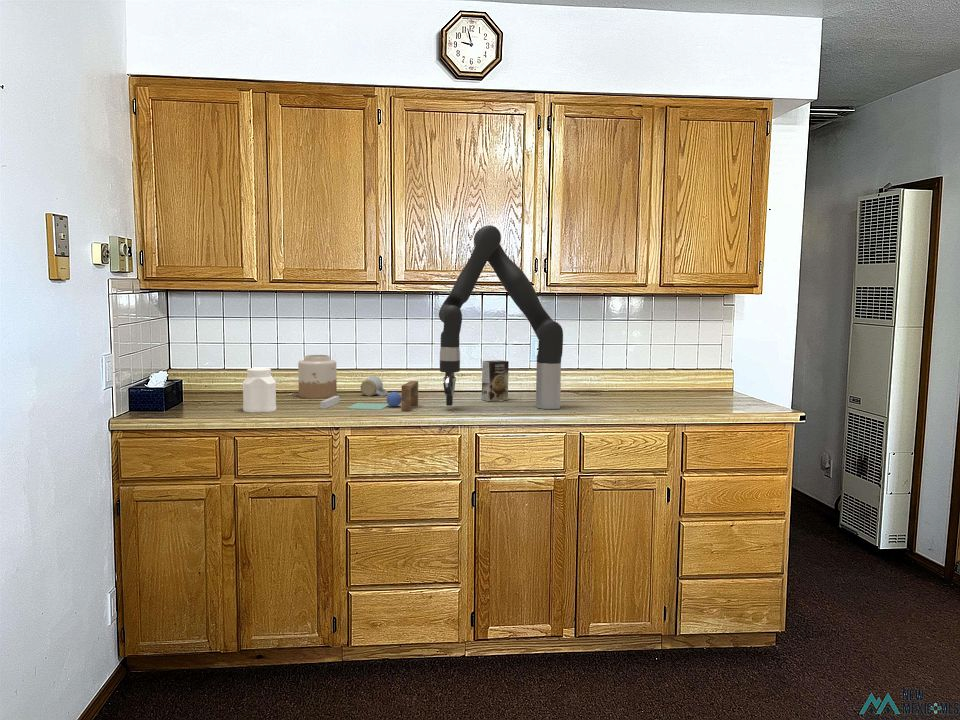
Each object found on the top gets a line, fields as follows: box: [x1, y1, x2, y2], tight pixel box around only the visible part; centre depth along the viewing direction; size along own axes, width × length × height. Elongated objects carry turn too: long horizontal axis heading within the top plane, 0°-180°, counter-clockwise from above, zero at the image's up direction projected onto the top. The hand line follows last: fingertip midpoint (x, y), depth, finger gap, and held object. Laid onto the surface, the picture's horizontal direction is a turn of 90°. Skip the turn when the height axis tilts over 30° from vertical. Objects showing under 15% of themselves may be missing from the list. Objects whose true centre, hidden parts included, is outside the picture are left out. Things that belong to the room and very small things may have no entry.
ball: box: [386, 391, 401, 408], centre depth 281 cm, size 6×6×6 cm
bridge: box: [400, 380, 419, 412], centre depth 278 cm, size 3×15×9 cm, turn 172°
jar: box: [242, 367, 277, 413], centre depth 269 cm, size 12×10×15 cm
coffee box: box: [481, 359, 510, 402], centre depth 300 cm, size 9×6×16 cm
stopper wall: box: [319, 395, 341, 410], centre depth 282 cm, size 2×16×2 cm, turn 172°
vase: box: [297, 354, 338, 400], centre depth 305 cm, size 15×15×17 cm
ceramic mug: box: [360, 375, 388, 397], centre depth 310 cm, size 11×8×8 cm
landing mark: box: [346, 402, 390, 411], centre depth 281 cm, size 13×13×1 cm
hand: (449, 405), depth 276 cm, fingers closed
